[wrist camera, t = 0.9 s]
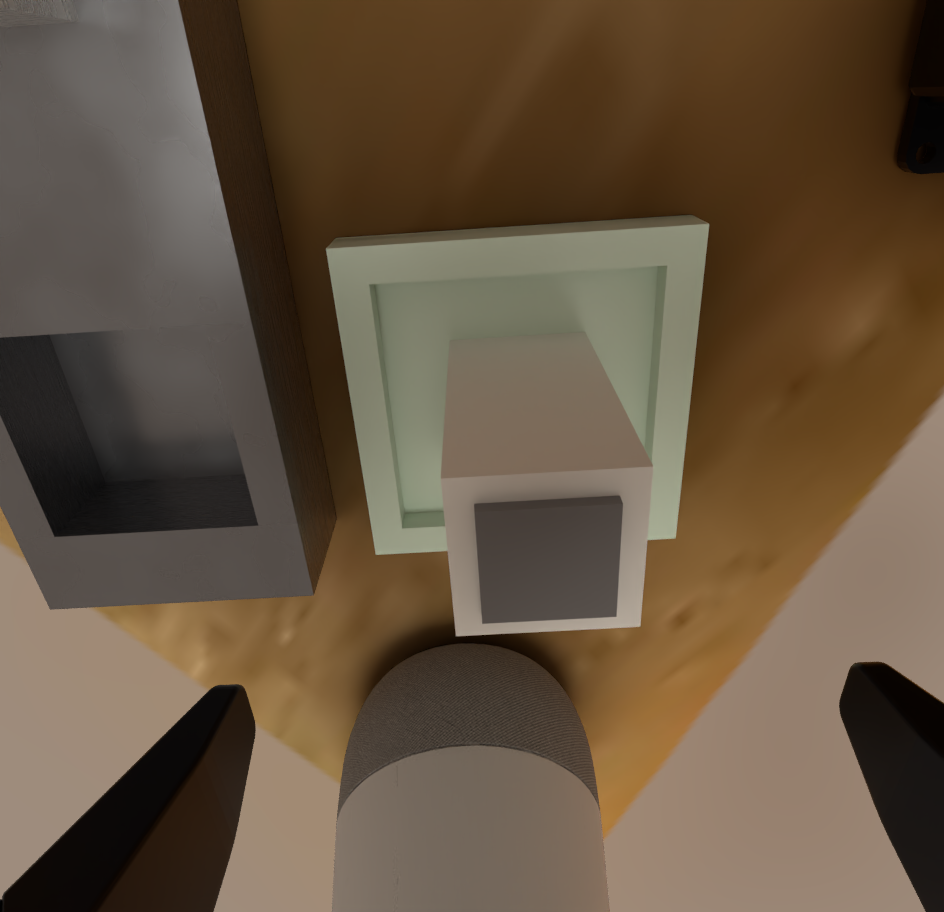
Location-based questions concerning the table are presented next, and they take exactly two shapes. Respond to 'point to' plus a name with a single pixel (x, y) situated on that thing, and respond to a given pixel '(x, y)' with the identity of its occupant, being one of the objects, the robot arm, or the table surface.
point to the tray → (503, 315)
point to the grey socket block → (148, 315)
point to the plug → (541, 489)
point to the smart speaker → (468, 792)
